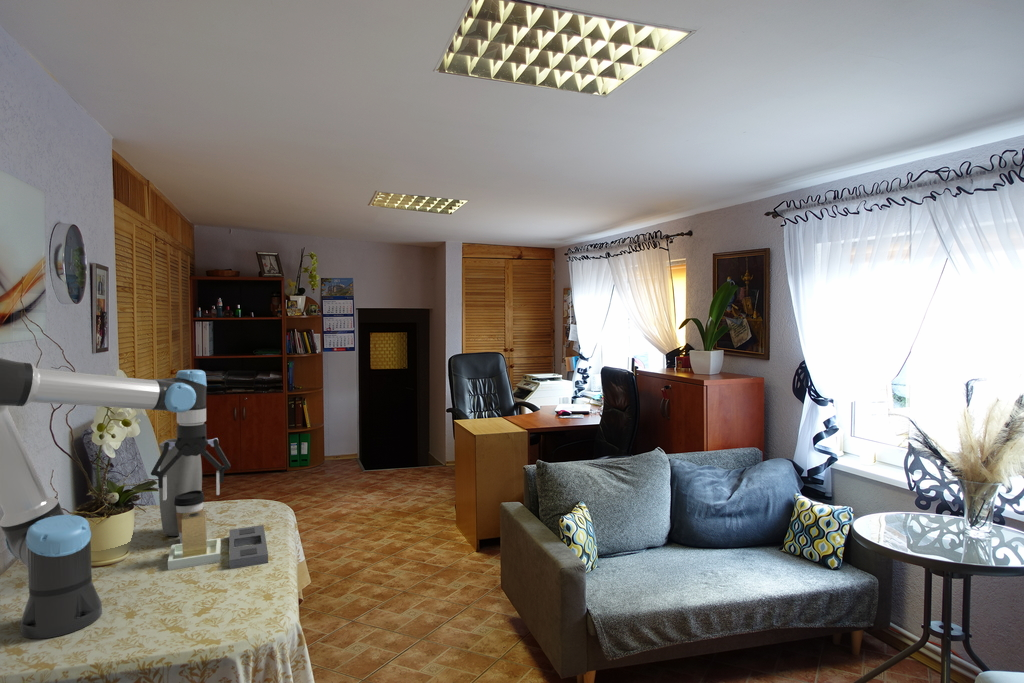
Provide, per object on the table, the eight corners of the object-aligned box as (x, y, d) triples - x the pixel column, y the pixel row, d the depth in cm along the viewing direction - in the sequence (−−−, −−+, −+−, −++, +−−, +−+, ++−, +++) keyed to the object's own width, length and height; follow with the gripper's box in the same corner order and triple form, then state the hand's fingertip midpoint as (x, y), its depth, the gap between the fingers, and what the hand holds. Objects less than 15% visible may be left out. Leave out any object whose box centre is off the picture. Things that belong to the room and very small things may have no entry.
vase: (169, 527, 201) (166, 438, 199) (208, 525, 203) (206, 436, 201) (153, 541, 189) (149, 446, 187) (194, 538, 191) (191, 444, 189)
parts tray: (220, 561, 173) (219, 553, 173) (168, 570, 167) (167, 561, 167) (220, 545, 185) (220, 537, 184) (172, 553, 179) (171, 545, 179)
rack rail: (268, 562, 172) (268, 553, 172) (229, 569, 168) (229, 559, 168) (263, 532, 196) (263, 524, 196) (229, 537, 192) (229, 529, 191)
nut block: (206, 557, 175) (205, 516, 174) (182, 561, 172) (181, 519, 171) (207, 550, 180) (206, 510, 179) (184, 553, 177) (183, 513, 177)
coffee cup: (210, 540, 189) (208, 493, 188) (181, 548, 183) (179, 499, 182) (199, 534, 195) (198, 488, 194) (171, 541, 188) (169, 494, 188)
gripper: (238, 419, 183) (238, 488, 183) (143, 423, 172) (143, 497, 173) (239, 422, 176) (239, 495, 177) (139, 428, 165) (139, 504, 166)
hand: (191, 496), depth 175 cm, fingers open, 13 cm apart
